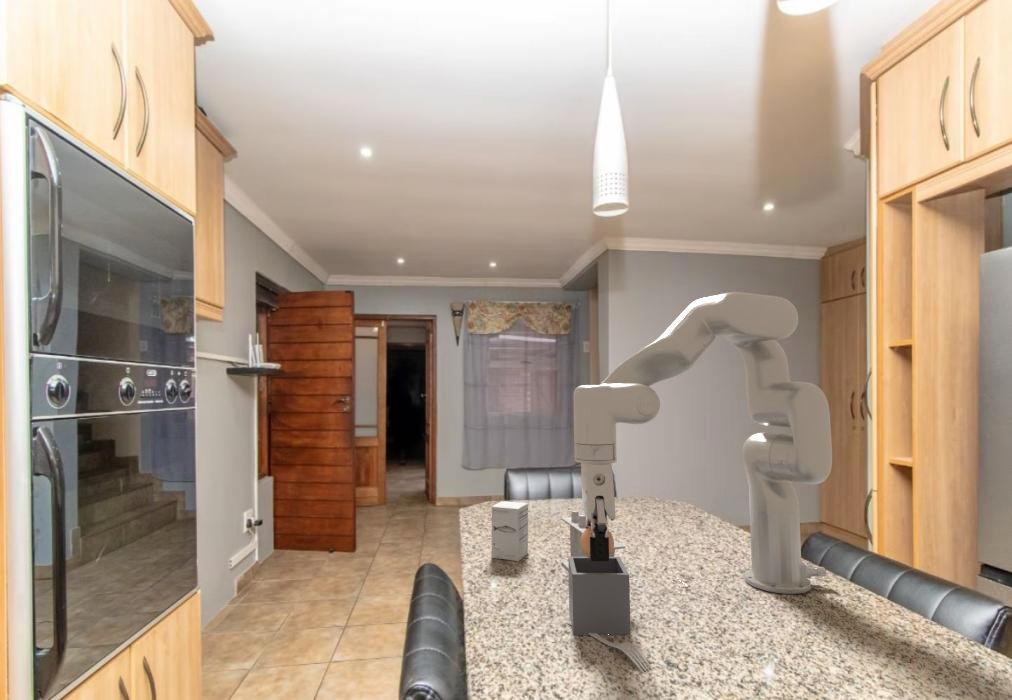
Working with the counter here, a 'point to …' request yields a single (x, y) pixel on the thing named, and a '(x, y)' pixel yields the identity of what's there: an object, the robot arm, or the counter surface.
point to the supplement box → (509, 530)
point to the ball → (586, 542)
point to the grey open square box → (599, 596)
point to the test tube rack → (576, 530)
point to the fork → (624, 646)
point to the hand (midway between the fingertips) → (597, 553)
